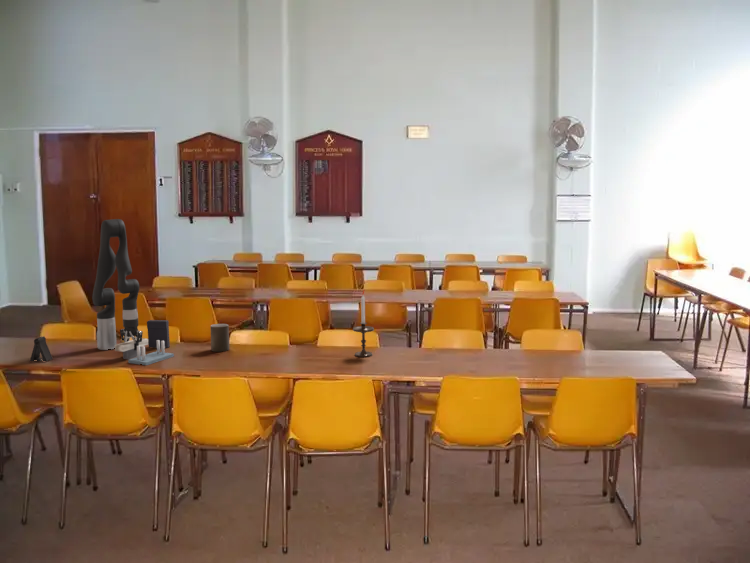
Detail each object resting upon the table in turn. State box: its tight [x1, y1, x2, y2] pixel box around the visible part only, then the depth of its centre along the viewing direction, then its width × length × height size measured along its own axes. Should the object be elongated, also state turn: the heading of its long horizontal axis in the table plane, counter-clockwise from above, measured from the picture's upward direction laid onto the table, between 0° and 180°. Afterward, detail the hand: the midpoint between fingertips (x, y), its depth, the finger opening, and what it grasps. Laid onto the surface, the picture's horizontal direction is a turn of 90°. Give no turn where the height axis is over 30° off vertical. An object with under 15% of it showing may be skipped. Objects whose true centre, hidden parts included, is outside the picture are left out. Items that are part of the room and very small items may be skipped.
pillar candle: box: [210, 323, 230, 353], centre depth 395 cm, size 10×10×15 cm
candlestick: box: [352, 289, 375, 358], centre depth 379 cm, size 11×11×35 cm
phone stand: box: [29, 335, 53, 362], centre depth 375 cm, size 9×6×12 cm, turn 85°
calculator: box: [146, 319, 171, 349], centre depth 402 cm, size 11×4×15 cm, turn 84°
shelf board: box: [114, 337, 149, 353], centre depth 380 cm, size 6×18×3 cm, turn 154°
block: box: [122, 346, 142, 360], centre depth 381 cm, size 3×10×5 cm, turn 154°
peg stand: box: [127, 340, 175, 366], centre depth 375 cm, size 12×20×8 cm, turn 154°
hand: (132, 349), depth 381 cm, fingers closed on shelf board, 5 cm apart
